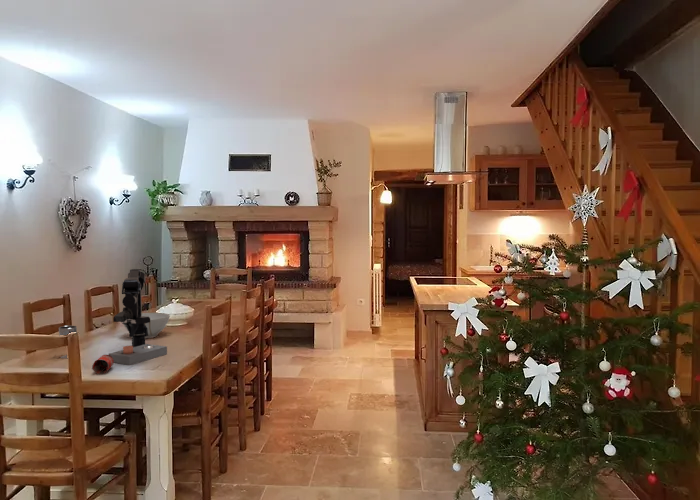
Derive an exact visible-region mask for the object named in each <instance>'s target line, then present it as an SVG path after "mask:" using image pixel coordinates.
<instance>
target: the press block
mask: <svg viewBox="0 0 700 500" xmlns="http://www.w3.org/2000/svg"><path fill="white" fill-rule="evenodd" d="M148 345H152V346H153V348H150V349H145V348H144V346H148ZM108 355H110V356H111V357H112V358H113V360H114V363H113V364H120V365H127V366H132V365H136V364H138V363H143V362H146V361H148V360H152V359H154V358H155V359H156V358H159V357H162V356H165V355H168V346H166V345H158V344H149V343H145V344H144V345H140V346H137V347H133V353H131V354H123V349H122V350H118V351H115V352H111V353H108Z"/></svg>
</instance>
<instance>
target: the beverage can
mask: <svg viewBox="0 0 700 500" xmlns="http://www.w3.org/2000/svg"><path fill="white" fill-rule="evenodd" d="M114 364H115V363H114V360H113V358H112V357H111V356H110V355H109V354H103V355H100V357H98V358H97V359H95V361H94V362H93V363H92V366H91V370H92V371H93V372H94V373H95V374H97V375H100V374H101V373H102V372H103V371H104V370H105V369H106V370H105V371H104V372H103V373H102V375H103V374H105V373H107V372H108V371H109V370H110V369H111V368H112V367H113V365H114Z"/></svg>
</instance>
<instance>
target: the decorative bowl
mask: <svg viewBox="0 0 700 500" xmlns="http://www.w3.org/2000/svg"><path fill="white" fill-rule="evenodd" d="M142 316H147V317H149V318H150V322H149V323H145V325H146V327H147V329H148V336H146V337H145V339H151V338H152V339H153V338H156V337H157V336H158V334H159V333H161V332H162V331H163V330H164V329H165V328H166V326H167V324H168V323H169V320H170V316H171V315H170V314H168V313H165V312H142ZM123 327H124V328H125V329H126V331H128V329H127V327H126V326H125V325H124V324H123ZM144 334H145V333H144Z"/></svg>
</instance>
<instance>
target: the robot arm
mask: <svg viewBox="0 0 700 500" xmlns="http://www.w3.org/2000/svg"><path fill="white" fill-rule="evenodd" d="M123 280H124V281H122V285H121V294H122V295H124V297H123V298H122V300H121V301H122V306H124V307H123V308H122V310H121V311H120V312H118V313H117V314H115V315H114V317H113V320H112V321H113V323H121V324H122V325H123V326H124V325H125V326H126V327H127V329H128V330H127V329H126V330H127V332H128V334H129V338H131V346H133V347H137V346H140V345H144V344H146V338H145V337H146V336H148V329H147V327H146V325H145V323H149V322H150V318H149V317H147V316H142V313H143V312H142V311H143V310H142V309H143V308H142V307H143V306H142V302H143V301H142V290H143V289H144V287H145V284H146V274H145V273H144V272H142V270H141V269H139V268H132V269H130V270H129V272H128V273H127V278H125V279H123ZM125 326H124V327H125ZM144 333H145V334H144Z"/></svg>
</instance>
